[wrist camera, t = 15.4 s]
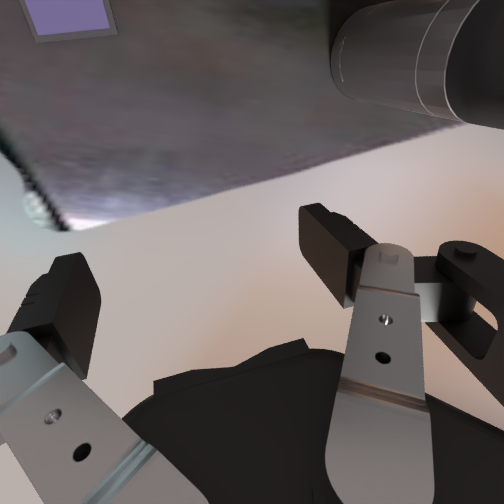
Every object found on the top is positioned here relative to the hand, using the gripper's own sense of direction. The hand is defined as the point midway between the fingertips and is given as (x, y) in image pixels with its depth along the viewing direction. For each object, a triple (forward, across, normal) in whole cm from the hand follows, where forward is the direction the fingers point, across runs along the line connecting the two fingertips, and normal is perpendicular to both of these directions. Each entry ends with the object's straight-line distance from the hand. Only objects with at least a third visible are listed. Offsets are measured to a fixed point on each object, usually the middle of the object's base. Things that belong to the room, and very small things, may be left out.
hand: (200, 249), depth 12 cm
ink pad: (+28, +6, -12) cm, 31 cm away
